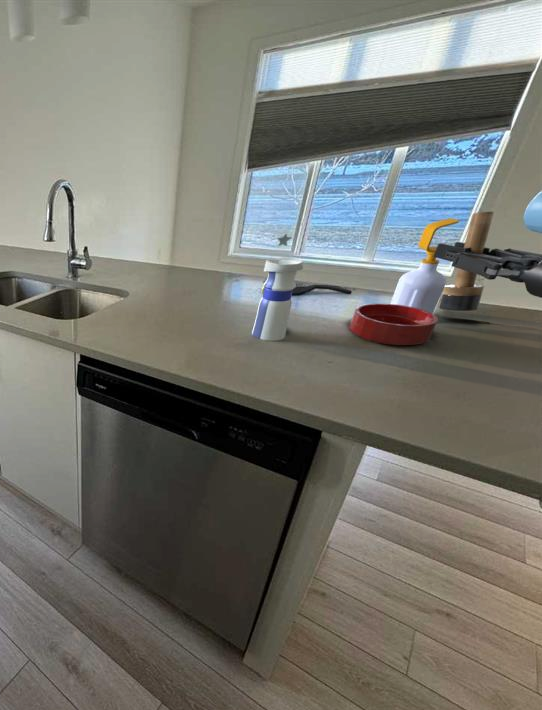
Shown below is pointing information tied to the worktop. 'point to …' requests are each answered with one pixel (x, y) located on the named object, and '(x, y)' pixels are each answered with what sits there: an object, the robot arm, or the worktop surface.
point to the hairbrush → (304, 289)
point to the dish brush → (464, 290)
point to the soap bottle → (423, 275)
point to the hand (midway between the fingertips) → (446, 249)
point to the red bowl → (393, 324)
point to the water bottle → (276, 297)
